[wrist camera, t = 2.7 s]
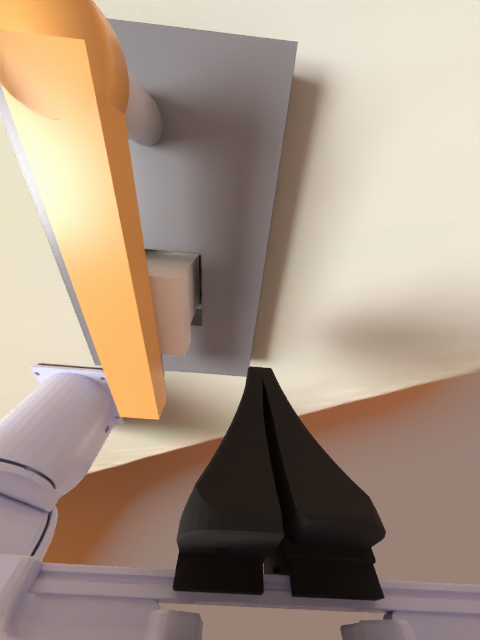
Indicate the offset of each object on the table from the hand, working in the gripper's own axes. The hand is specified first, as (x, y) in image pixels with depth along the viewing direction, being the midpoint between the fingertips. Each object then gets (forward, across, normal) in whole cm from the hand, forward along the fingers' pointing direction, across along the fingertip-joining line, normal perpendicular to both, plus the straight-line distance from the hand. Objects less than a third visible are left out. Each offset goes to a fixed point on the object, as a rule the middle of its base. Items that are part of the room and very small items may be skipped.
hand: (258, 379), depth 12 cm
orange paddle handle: (0, +7, -5) cm, 9 cm away
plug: (+8, +7, -1) cm, 10 cm away
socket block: (+7, +7, -5) cm, 11 cm away
